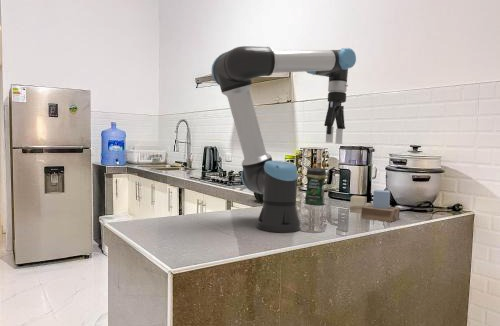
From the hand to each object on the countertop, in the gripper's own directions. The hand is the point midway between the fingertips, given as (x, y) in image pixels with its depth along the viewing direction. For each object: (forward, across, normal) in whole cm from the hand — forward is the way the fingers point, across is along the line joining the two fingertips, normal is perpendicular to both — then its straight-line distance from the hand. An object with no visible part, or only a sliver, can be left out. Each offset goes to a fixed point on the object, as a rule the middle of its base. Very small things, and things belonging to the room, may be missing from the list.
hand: (334, 143), depth 164 cm
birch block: (+31, +20, -7) cm, 37 cm away
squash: (+31, +19, +39) cm, 53 cm away
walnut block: (+31, +10, -19) cm, 38 cm away
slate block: (+26, +10, -19) cm, 34 cm away
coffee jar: (+31, +30, +17) cm, 46 cm away
